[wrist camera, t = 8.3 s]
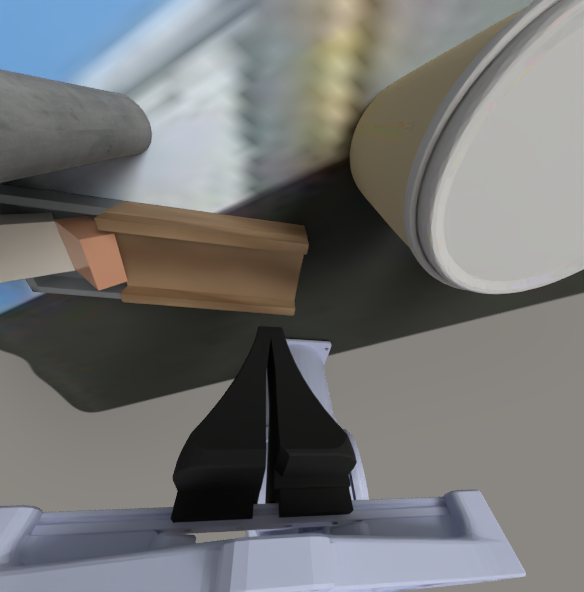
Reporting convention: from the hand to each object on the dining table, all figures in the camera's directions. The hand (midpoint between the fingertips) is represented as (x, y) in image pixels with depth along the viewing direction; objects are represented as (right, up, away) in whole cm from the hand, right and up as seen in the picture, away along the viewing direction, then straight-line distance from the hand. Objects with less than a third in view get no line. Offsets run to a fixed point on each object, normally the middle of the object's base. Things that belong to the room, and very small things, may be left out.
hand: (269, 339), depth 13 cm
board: (-5, +6, +7) cm, 11 cm away
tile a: (-13, +6, +5) cm, 15 cm away
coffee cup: (+9, +13, +4) cm, 17 cm away
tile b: (-17, +6, +3) cm, 18 cm away
